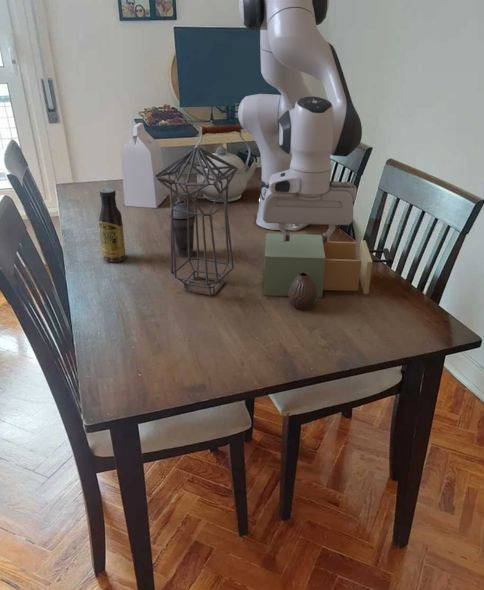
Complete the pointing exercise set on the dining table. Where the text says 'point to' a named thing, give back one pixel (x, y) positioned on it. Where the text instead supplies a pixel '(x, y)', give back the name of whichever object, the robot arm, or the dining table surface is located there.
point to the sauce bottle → (111, 227)
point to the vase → (302, 292)
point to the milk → (142, 170)
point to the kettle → (239, 178)
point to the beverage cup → (183, 228)
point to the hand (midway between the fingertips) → (305, 241)
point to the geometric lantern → (177, 166)
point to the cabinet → (292, 262)
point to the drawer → (349, 266)
